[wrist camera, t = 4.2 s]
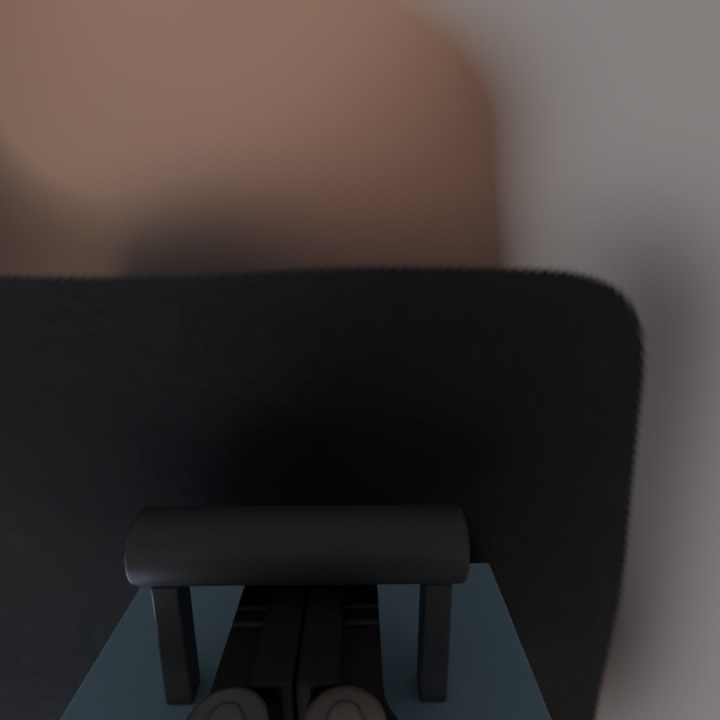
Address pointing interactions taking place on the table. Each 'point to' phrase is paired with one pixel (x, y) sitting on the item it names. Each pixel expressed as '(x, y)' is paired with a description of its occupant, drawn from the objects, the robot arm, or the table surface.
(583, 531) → the table surface
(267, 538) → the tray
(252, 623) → the robot arm
